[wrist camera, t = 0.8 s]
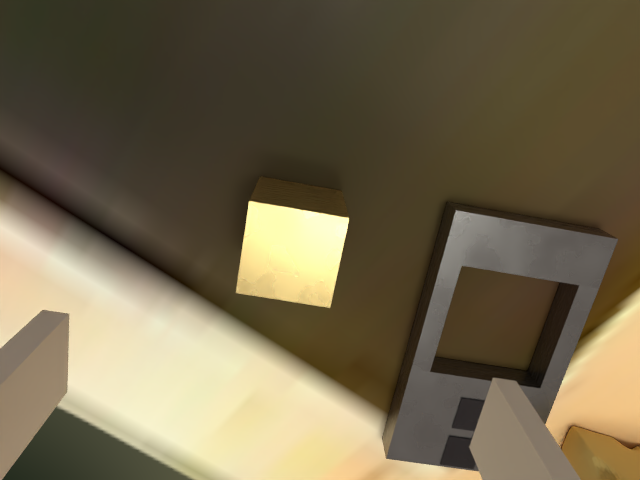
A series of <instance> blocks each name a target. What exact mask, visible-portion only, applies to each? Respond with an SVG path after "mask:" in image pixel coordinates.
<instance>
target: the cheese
mask: <svg viewBox="0 0 640 480" xmlns="http://www.w3.org/2000/svg"><path fill="white" fill-rule="evenodd" d="M561 450H562V452H563V453H564V455H565V456H566V458H567V459H568V461H569V462H570V464H571V465H572V467H573V468H574V470H575V471H576V473H577V474H578V476H579V477H580V479H581V480H640V446H638V447H635V448H633V449H629V448H627V447H625V446H623V445H622V444H620V443H619V442H618V441H617V440H616V439H614V438H613V437H609V436H606V435H603V434H599V433H595V432H592V431H589V430H586V429H583V428H579V427H575V426H572V427H571V429H570V430H569V432H568V434H567V436H566V438H565V441H564V443H563V446H562V449H561Z"/></svg>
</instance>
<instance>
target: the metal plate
mask: <svg viewBox="0 0 640 480" xmlns="http://www.w3.org/2000/svg"><path fill="white" fill-rule="evenodd" d="M617 241H618V239H617V238H615V237H613V236H612V235H610V234H608V233H606V232H604V231H603V230H601V229H597V228H592V227H586V226H580V225H575V224H569V223H564V222H558V221H552V220H547V219H541V218H536V217H530V216H525V215H519V214H513V213H508V212H502V211H497V210H491V209H485V208H480V207H474V206H469V205H463V204H458V203H452V202H447V203H446V207H445V211H444V214H443V218H442V221H441V225H440V229H439V232H438V236H437V240H436V243H435V247H434V251H433V254H432V258H431V262H430V265H429V269H428V273H427V276H426V280H425V284H424V287H423V291H422V295H421V298H420V302H419V306H418V309H417V313H416V316H415V320H414V324H413V327H412V331H411V335H410V338H409V342H408V346H407V349H406V353H405V357H404V360H403V364H402V368H401V371H400V375H399V379H398V382H397V386H396V390H395V393H394V397H393V401H392V404H391V408H390V411H389V415H388V419H387V422H386V426H385V430H384V433H383V437H382V440H383V445H384V451H385V456H386V459H392V460H400V461H407V462H414V463H422V464H429V465H436V466H444V467H451V468H458V469H466V470H473V471H479V470H478V467H477V465H476V462H475V460H474V458H473V455H472V453H471V450H470V448H469V446H470V443H471V441H472V438H473V435H474V432H475V429H476V426H477V423H478V420H479V417H480V414H481V411H482V408H483V406H484V403H485V400H486V397H487V394H488V391H489V388H490V385H491V382H492V379H493V378H500V379H506V380H513V381H517V383H518V384H519V386H520V388H521V389H522V391H523V392H524V394H525V395H526V397H527V398H528V400H529V401H530V403H531V404H532V406H533V407H534V409H535V410H536V412H537V413H538V415H539V417H540V418H541V420H542V421H543V423H544V424H546V421H547V418H548V416H549V413H550V411H551V408H552V406H553V403H554V401H555V398H556V396H557V393H558V391H559V388H560V385H561V383H562V380H563V378H564V375H565V373H566V370H567V368H568V365H569V363H570V360H571V358H572V355H573V353H574V350H575V347H576V345H577V342H578V340H579V337H580V335H581V332H582V330H583V327H584V325H585V322H586V320H587V317H588V314H589V312H590V309H591V307H592V304H593V302H594V299H595V297H596V294H597V292H598V289H599V287H600V284H601V282H602V279H603V276H604V274H605V271H606V269H607V266H608V264H609V261H610V259H611V256H612V254H613V251H614V249H615V246H616V243H617ZM461 265H462V266H468V267H474V268H480V269H486V270H492V271H498V272H504V273H510V274H515V275H521V276H527V277H533V278H539V279H545V280H551V281H557V282H560V285H559V287H558V290H557V293H556V296H555V298H554V301H553V304H552V306H551V309H550V312H549V315H548V317H547V320H546V323H545V326H544V328H543V331H542V334H541V336H540V339H539V342H538V345H537V347H536V350H535V353H534V356H533V358H532V361H531V364H530V366H529V369H528V371H523V370H517V369H510V368H504V367H497V366H491V365H484V364H478V363H471V362H465V361H458V360H452V359H445V358H439V357H435V353H436V350H437V347H438V343H439V340H440V336H441V333H442V330H443V326H444V323H445V319H446V316H447V313H448V309H449V306H450V303H451V299H452V296H453V292H454V289H455V286H456V282H457V279H458V275H459V272H460V269H461Z"/></svg>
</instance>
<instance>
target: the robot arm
mask: <svg viewBox="0 0 640 480" xmlns="http://www.w3.org/2000/svg"><path fill="white" fill-rule="evenodd" d="M68 342H69V314H67V313H60V312H53V311H47V310H42V311H41V312H40V313H39V314H38V315H37V316H36V317H34V318H33V319H32V320H31V321H30V322H29V323H28V324H27V325H26V326H25V327H23V328H22V329H21V330H20V331H19V332H18V333H17V334H16V335H15V336H14V337H13V338H11V339H10V340H9V341H8V342H7V343H6V344H5V345H4V346H3V347H2V348H1V349H0V480H2V479H3V477H4V476H5V475H6V473H7V472H8V471H9V469H10V468H11V467H12V465H13V464H14V463H15V461H16V460H17V458H18V457H19V456H20V454H21V453H22V452H23V450H24V449H25V448H26V446H27V445H28V444H29V442H30V441H31V440H32V438H33V437H34V436H35V434H36V433H37V432H38V430H39V429H40V428H41V426H42V425H43V423H44V422H45V421H46V419H47V418H48V417H49V415H50V414H51V413H52V411H53V410H54V409H55V407H56V406H57V405H58V403H59V402H60V401H61V399H62V398H63V397H64V395H65V394H66V393H67V380H68ZM469 448H470V450H471V453H472V455H473V458H474V460H475V462H476V465H477V467H478V470H479V472H480V474H481V477H482V479H483V480H581V479H580V477H579V476H578V474H577V473H576V471H575V470H574V468H573V467H572V465H571V464H570V462H569V461H568V459H567V458H566V456H565V455H564V453H563V452H562V450H561V449H560V447H559V445H558V444H557V442H556V441H555V439H554V438H553V436H552V435H551V433H550V432H549V430H548V429H547V427H546V426H545V424H544V423H543V421H542V420H541V418H540V417H539V415H538V413H537V412H536V410H535V409H534V407H533V406H532V404H531V403H530V401H529V400H528V398H527V397H526V395H525V394H524V392H523V391H522V389H521V388H520V386H519V384H518V383H517V381H513V380H506V379H500V378H493V379H492V382H491V385H490V388H489V391H488V394H487V397H486V400H485V403H484V406H483V408H482V411H481V414H480V417H479V420H478V423H477V426H476V429H475V432H474V435H473V438H472V441H471V443H470V446H469Z"/></svg>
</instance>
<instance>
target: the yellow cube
mask: <svg viewBox="0 0 640 480" xmlns="http://www.w3.org/2000/svg"><path fill="white" fill-rule="evenodd" d="M348 221H349V216H348V212H347V208H346V205H345V201H344V197H343V194H342V191H340V190H334V189H329V188H323V187H317V186H312V185H306V184H301V183H295V182H289V181H284V180H278V179H272V178H267V177H261V176H260V178H259V180H258V182H257V185H256V187H255V189H254V191H253V194H252V196H251V198H250V200H249V206H248V213H247V219H246V226H245V233H244V240H243V247H242V254H241V261H240V268H239V275H238V281H237V288H236V293H240V294H246V295H253V296H259V297H265V298H272V299H278V300H284V301H290V302H297V303H303V304H309V305H316V306H322V307H328V308H330V306H331V302H332V297H333V292H334V287H335V283H336V278H337V273H338V269H339V264H340V259H341V254H342V250H343V245H344V240H345V236H346V231H347V226H348Z"/></svg>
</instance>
